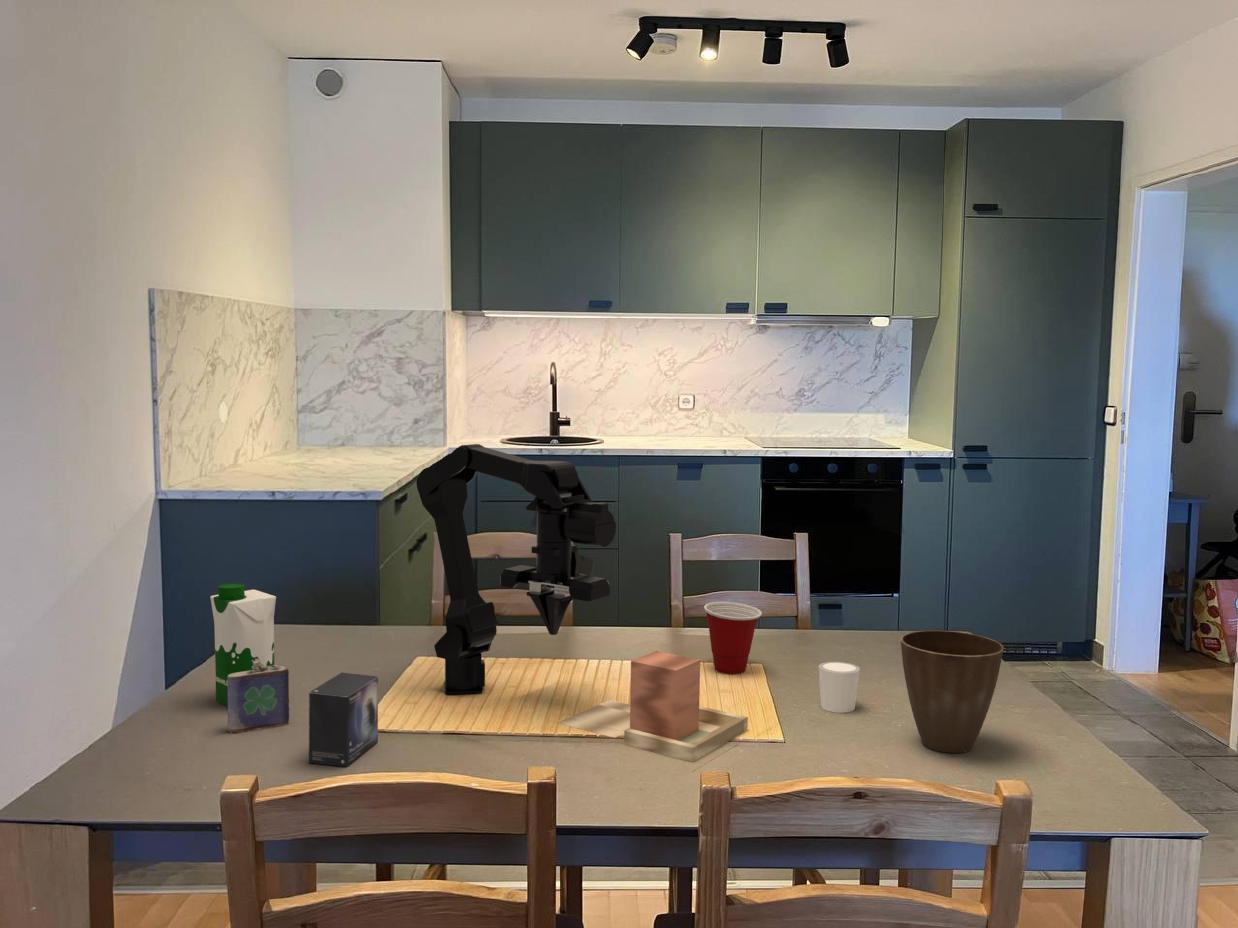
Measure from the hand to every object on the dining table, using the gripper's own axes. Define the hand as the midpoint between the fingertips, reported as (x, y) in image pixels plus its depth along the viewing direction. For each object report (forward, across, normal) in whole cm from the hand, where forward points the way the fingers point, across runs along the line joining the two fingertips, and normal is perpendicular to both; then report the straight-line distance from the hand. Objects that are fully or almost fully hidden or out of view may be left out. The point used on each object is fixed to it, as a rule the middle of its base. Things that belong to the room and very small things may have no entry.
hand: (553, 634), depth 174 cm
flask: (+13, +32, +33) cm, 48 cm away
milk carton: (+13, +44, +27) cm, 53 cm away
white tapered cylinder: (+13, -36, -31) cm, 50 cm away
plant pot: (+13, -57, -25) cm, 64 cm away
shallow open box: (+13, -18, 0) cm, 23 cm away
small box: (+13, +13, +32) cm, 37 cm away
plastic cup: (+13, -12, -39) cm, 43 cm away
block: (+12, -22, 0) cm, 25 cm away
